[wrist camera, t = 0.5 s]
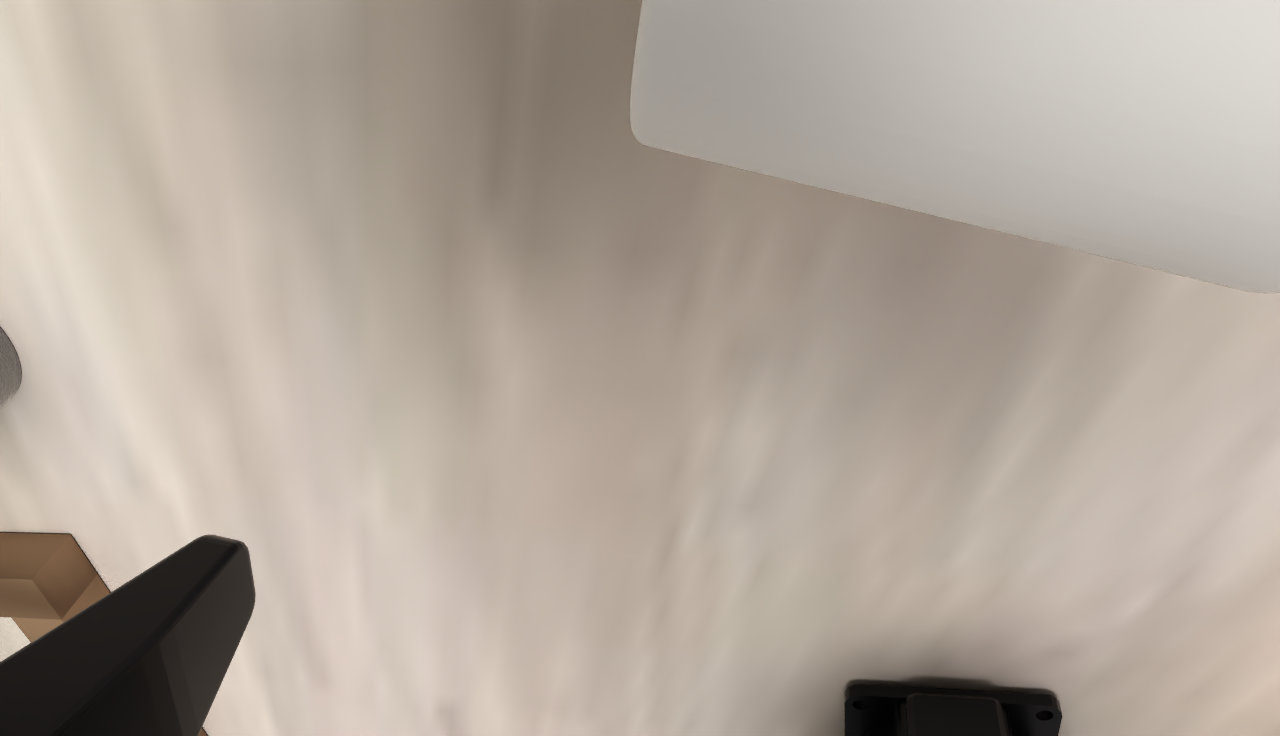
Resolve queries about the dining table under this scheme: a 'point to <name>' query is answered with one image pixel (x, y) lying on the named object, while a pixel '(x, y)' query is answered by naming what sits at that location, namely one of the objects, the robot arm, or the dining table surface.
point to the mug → (995, 115)
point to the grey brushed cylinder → (8, 369)
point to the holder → (45, 582)
